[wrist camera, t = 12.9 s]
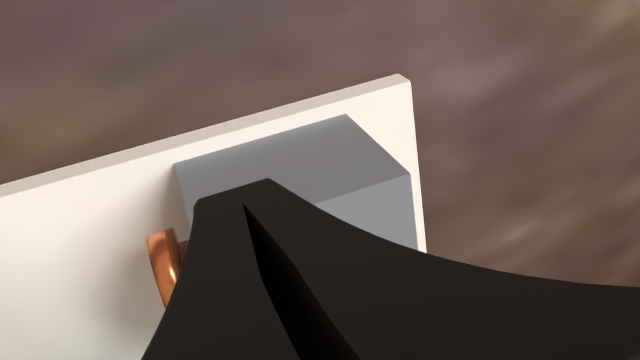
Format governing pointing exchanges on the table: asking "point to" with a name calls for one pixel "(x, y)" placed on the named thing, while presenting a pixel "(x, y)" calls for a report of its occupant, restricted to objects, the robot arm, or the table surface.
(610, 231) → the table surface
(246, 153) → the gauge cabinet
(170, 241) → the gauge plunger
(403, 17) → the table surface
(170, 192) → the base board
